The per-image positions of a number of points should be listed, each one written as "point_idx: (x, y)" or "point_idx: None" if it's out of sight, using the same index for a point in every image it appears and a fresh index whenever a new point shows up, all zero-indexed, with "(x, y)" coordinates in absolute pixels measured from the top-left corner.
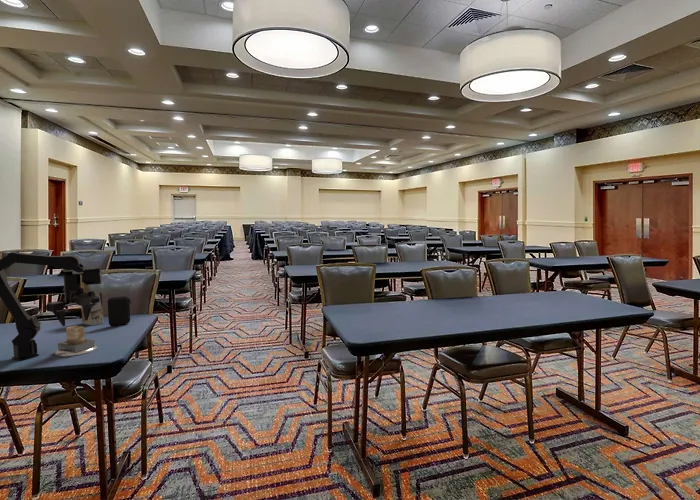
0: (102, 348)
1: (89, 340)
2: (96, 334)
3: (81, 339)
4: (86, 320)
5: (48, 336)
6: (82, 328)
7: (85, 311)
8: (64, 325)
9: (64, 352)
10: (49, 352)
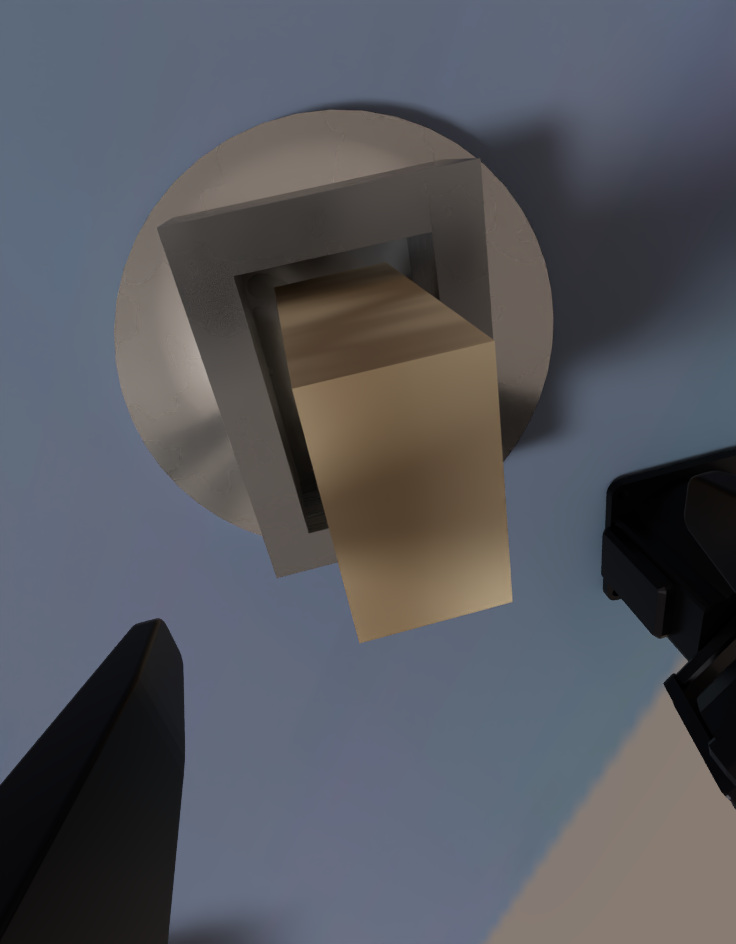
0: (77, 151)
1: (214, 293)
2: (3, 763)
3: (336, 306)
4: (161, 619)
5: (319, 886)
6: (329, 374)
7: (106, 936)
8: (719, 473)
9: (492, 324)
10: (514, 511)
